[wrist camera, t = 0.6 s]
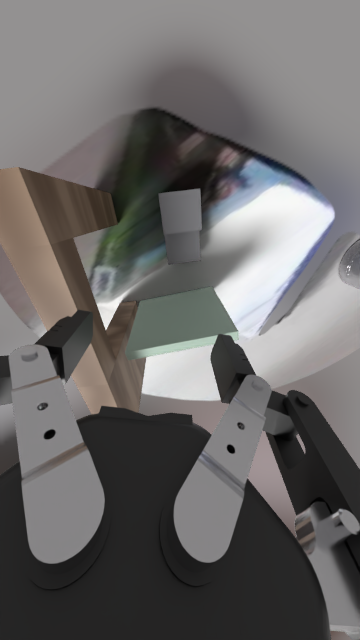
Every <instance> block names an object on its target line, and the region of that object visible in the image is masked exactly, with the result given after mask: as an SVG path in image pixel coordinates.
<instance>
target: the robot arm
mask: <svg viewBox="0 0 360 640" xmlns="http://www.w3.org/2000/svg"><path fill="white" fill-rule="evenodd" d="M339 274H340V278H341V279H342V281H343V282H345V283H346V284H349V285H351V286H353V287H356V288H358V289H360V240H359V241H357V242H356V243H355V244H354V245H352V246H351V247H350V248H349V250H348V251H347V252H346V253H345V255H344V257H343V258H342V261H341V263H340V268H339ZM92 337H93V313H92V312H90V311H84V310H77V311H76V313H75V314H74V315H73V316H72V317H70V316H67V317H64V318H62V319H60V320H59V321H58V322H57V323H56V324H54V326H52V327H51V328H50V330H48V331H47V332H46V333H45V334H44V335H43V336H42V337H41V338H40V339H39V340H38V341H37V342H36V343H35V344H34V345H27V346H23V347H20V348H18V349H16V350H14V351H13V352H12V353H11V354H10V355H9V356H0V405H3V404H10V403H13V410H14V418H15V425H16V434H17V442H18V450H19V458H20V461H19V462H17V463H16V464H15V465H14V466H12V467H11V468H9V469H8V470H6V471H5V472H4V473H2V474H1V475H0V640H331V634H330V630H331V631H345V632H346V634H347V635H348V636H349V637H350V638H351V639H352V640H360V469H359V468H358V466H357V465H356V463H355V462H354V460H353V459H352V457H351V456H350V455H349V453H348V452H347V450H346V449H345V447H344V446H343V444H342V443H341V441H340V440H339V438H338V437H337V436H336V434H335V433H334V432H333V430H332V428H331V427H330V425H329V424H328V422H327V421H326V419H325V418H324V417H323V415H322V414H321V412H320V411H319V409H318V408H317V406H316V405H315V403H314V402H313V401H312V400H311V399H310V398H309V397H308V396H306V395H305V394H303V393H301V392H298V391H295V390H291V391H289V392H288V393H287V395H286V396H285V395H282V394H280V393H277V392H275V391H272V390H271V387H270V385H269V384H268V383H267V382H266V381H265V380H264V379H263V378H261V377H259V376H256V374H255V372H254V370H253V368H252V366H251V364H250V362H249V361H248V359H247V357H246V355H245V353H244V351H243V349H242V348H241V347H240V346H239V345H238V344H235V343H234V341H233V338H232V336H231V335H225V334H219V335H218V336H217V339H216V342H215V344H214V347H213V349H212V352H211V363H212V367H213V371H214V375H215V379H216V382H217V386H218V390H219V394H220V398H221V402H222V403H229V406H228V408H227V410H226V412H225V413H224V415H223V417H222V418H221V420H220V422H219V424H218V425H217V427H216V429H215V431H214V432H213V434H212V435H211V434H210V433H209V432H208V431H207V430H205V429H204V428H202V427H201V426H199V425H197V424H195V423H193V422H192V415H187V414H177V413H166V414H159V415H152V416H145V415H143V414H140V413H137V412H134V411H132V410H129V409H126V408H119V407H109V406H101V409H100V411H99V413H97V414H92V415H88V416H86V417H83V418H81V419H78V420H75V417H74V414H73V411H72V409H71V406H70V403H69V400H68V398H67V395H66V392H65V389H64V386H63V384H66V382H67V381H68V379H69V378H70V376H71V374H72V373H73V371H74V369H75V368H76V366H77V364H78V363H79V361H80V359H81V358H82V356H83V355H84V353H85V351H86V350H87V348H88V346H89V345H90V343H91V341H92ZM262 430H263V431H265V432H266V435H267V437H268V440H269V443H270V445H271V448H272V451H273V453H274V456H275V459H276V462H277V464H278V467H279V470H280V472H281V475H282V478H283V480H284V483H285V486H286V488H287V491H288V494H289V497H290V499H291V502H292V505H293V508H294V510H295V513H296V515H297V517H296V519H295V532H296V536H297V537H296V538H295V536H294V535H293V534H292V533H291V531H290V530H289V529H288V528H287V527H286V525H285V524H284V523H283V522H282V520H281V519H280V518H279V517H278V516H277V514H276V513H275V512H274V511H273V509H272V508H271V507H270V506H269V504H268V503H267V502H266V501H265V499H264V498H263V497H262V496H261V495H260V493H259V492H258V491H257V490H256V488H255V487H254V486H253V485H252V483H251V482H250V481H249V480H248V479H247V477H248V474H249V471H250V468H251V465H252V461H253V458H254V455H255V452H256V449H257V445H258V442H259V439H260V436H261V433H262ZM297 434H299V435H300V437H301V439H302V441H303V443H304V446H305V450H306V453H305V454H304V452H303V450H302V448H301V446H300V444H299V442H298V440H297V438H296V435H297Z"/></svg>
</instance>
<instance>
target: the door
mask: <svg viewBox="0 0 360 640" xmlns="http://www.w3.org/2000/svg"><path fill="white" fill-rule="evenodd" d="M219 334H225V335H231V336H232V338H233V341H234V340H239V337H238V330H237V328H236V327H235V325H234V323H233V321H232V320H231V318H230V316H229V315H228V313H227V311H226V310H225V308H224V306H223V304H222V303H221V301H220V299H219V298H218V296H217V294H216V292H215V291H214V289H213V287H212V286H211V287H206V288H201V289H197V290H192V291H187V292H182V293H177V294H172V295H167V296H162V297H157V298H152V299H147V300H142V301H140V303H139V306H138V310H137V313H136V316H135V320H134V323H133V327H132V330H131V334H130V337H129V340H128V344H127V347H126V351H125V354H126V357H127V359H128V360H133V359H138V358H144V357H149V356H154V355H160V354H165V353H170V352H175V351H181V350H186V349H191V348H197V347H202V346H207V345H213V344H215V342H216V339H217V336H218V335H219Z"/></svg>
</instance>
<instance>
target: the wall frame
mask: <svg viewBox="0 0 360 640" xmlns="http://www.w3.org/2000/svg"><path fill="white" fill-rule="evenodd" d="M117 224H118V223H117V218H116V214H115V210H114V206H113V201H112V197H111V193H107V192H104V191H100V190H97V189H93V188H90V187H86V186H83V185H79V184H76V183H72V182H69V181H65V180H62V179H58V178H55V177H51V176H47V175H44V174H40V173H37V172H33V171H30V170H26V169H23V168H19V167H16V168H7V169H0V243H1V245H2V247H3V249H4V251H5V252H6V254H7V256H8V258H9V260H10V262H11V264H12V266H13V267H14V269H15V271H16V273H17V275H18V277H19V279H20V281H21V282H22V284H23V286H24V288H25V290H26V292H27V294H28V296H29V297H30V299H31V301H32V303H33V305H34V307H35V309H36V311H37V312H38V314H39V316H40V318H41V320H42V322H43V324H44V326H45V327H46V329H47V331H48V330H50V328H51V327H52V326H54V324H56V323H57V322H58V321H59V320H60V319H62V318H64V317H67V316H70V317H72V316H73V315H74V314H75V313H76V311H77V310H84V311H90V312H92V313H93V337H92V341H91V343H90V345H89V346H88V348H87V350H86V351H85V353H84V355H83V356H82V358H81V359H80V361H79V363H78V364H77V366H76V368H75V369H74V371H73V373H72V374H71V376H72V378H73V380H74V382H75V383H76V386H77V387H78V389H79V391H80V393H81V395H82V397H83V399H84V400H85V403H86V404H87V406H88V408H89V410H90V412H91V414H97V413H99V411H100V409H101V406H109V407H119V408H126V409H129V410H132V411H134V412H137V413H138V412H139V405H140V398H141V391H142V384H143V377H144V369H145V362H146V357H144V358H138V359H133V360H128V359H127V357H126V354H125V351H126V347H127V344H128V340H129V337H130V334H131V330H132V327H133V323H134V320H135V316H136V313H137V310H138V307H137V303H136V301H130V302H122V303H120V304H119V306H118V308H117V310H116V312H115V314H114V316H113V318H112V320H111V322H110V324H109V326H108V328H107V330H105V327H104V325H103V322H102V319H101V316H100V313H99V310H98V307H97V305H96V302H95V299H94V296H93V293H92V290H91V288H90V285H89V282H88V279H87V276H86V273H85V271H84V268H83V265H82V262H81V259H80V256H79V254H78V251H77V248H76V245H75V242H74V239H73V238H74V237H77V236H80V235H84V234H87V233H90V232H94V231H97V230H100V229H104V228H107V227H110V226H114V225H117Z"/></svg>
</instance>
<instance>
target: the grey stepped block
mask: <svg viewBox="0 0 360 640" xmlns="http://www.w3.org/2000/svg"><path fill="white" fill-rule="evenodd" d="M158 194H159V202H160V209H161V217H162V224H163V232H164V236H165V243H166V251H167V259H168V264H176V263H185V262H193V261H201V256H200V235H199V230H202V218H201V194H200V189H192V190H183V191H175V192H167V193H158Z"/></svg>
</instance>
